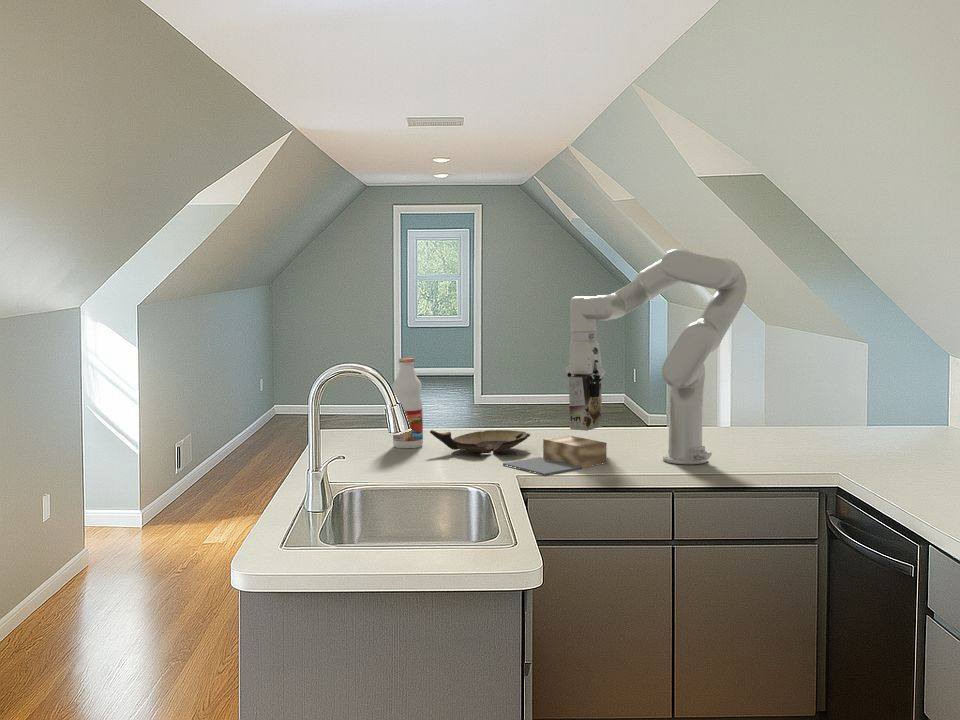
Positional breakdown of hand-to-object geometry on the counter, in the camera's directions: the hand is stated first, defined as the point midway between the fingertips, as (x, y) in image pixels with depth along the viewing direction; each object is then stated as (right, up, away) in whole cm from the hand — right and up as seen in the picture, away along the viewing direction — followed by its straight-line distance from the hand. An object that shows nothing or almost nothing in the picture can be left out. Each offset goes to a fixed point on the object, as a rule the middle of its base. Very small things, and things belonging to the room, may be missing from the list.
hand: (585, 395), depth 297 cm
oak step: (-4, -19, -11) cm, 22 cm away
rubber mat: (-14, -20, -19) cm, 30 cm away
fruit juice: (-55, -17, +15) cm, 59 cm away
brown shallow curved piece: (-31, -18, +6) cm, 37 cm away
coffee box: (0, -10, +1) cm, 10 cm away
